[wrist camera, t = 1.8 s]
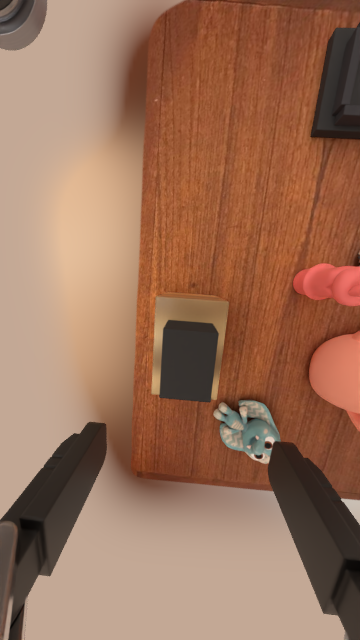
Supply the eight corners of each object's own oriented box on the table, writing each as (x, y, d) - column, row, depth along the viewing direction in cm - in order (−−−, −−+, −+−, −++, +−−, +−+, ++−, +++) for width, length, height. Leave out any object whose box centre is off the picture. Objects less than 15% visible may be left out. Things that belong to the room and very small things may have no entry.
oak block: (166, 291, 29) (155, 296, 19) (215, 295, 29) (229, 301, 19) (162, 359, 32) (151, 394, 22) (207, 363, 31) (216, 400, 22)
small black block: (168, 319, 20) (162, 328, 16) (212, 323, 20) (219, 333, 16) (164, 376, 21) (159, 397, 17) (206, 380, 21) (210, 402, 17)
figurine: (286, 299, 28) (391, 317, 14) (289, 266, 27) (406, 247, 13) (319, 298, 28) (462, 316, 14) (324, 265, 27) (484, 244, 12)
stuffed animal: (237, 398, 26) (311, 449, 25) (233, 377, 33) (290, 417, 32) (198, 447, 29) (264, 497, 27) (201, 419, 35) (254, 457, 34)
